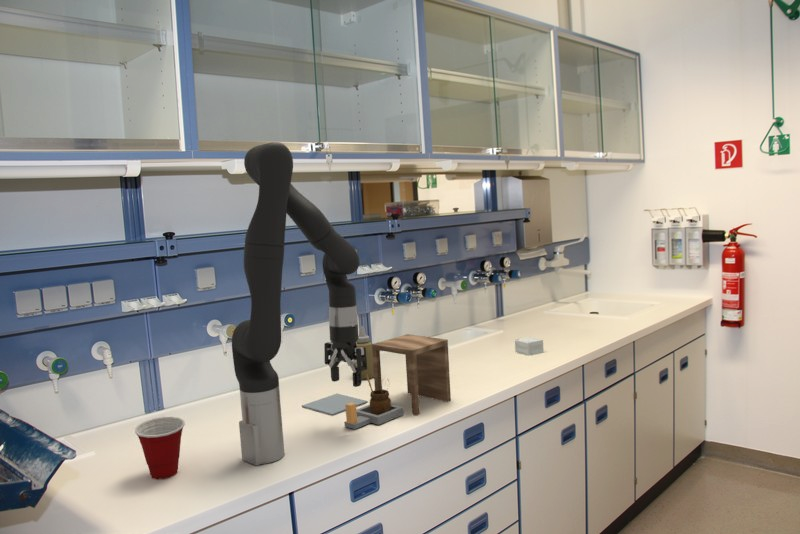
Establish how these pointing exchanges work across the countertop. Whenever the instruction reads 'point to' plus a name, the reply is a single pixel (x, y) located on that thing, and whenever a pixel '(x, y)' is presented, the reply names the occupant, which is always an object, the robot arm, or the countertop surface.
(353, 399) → the slate mat
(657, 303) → the countertop surface
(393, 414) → the sliding frame
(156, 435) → the plastic cup
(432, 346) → the walnut shelf
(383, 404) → the utensil holder
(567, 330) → the countertop surface
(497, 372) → the countertop surface
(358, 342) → the squeeze bottle
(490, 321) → the countertop surface
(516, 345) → the small box
